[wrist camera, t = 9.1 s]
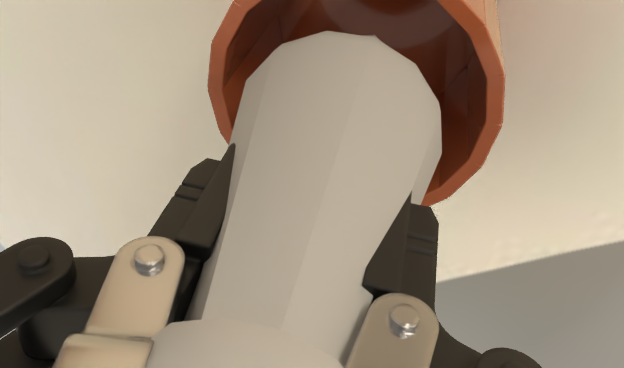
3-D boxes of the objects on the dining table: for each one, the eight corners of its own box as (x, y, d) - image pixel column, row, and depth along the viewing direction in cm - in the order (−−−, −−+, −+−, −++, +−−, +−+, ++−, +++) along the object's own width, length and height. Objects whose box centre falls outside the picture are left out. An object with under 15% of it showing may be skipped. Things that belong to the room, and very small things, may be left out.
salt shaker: (301, 183, 20) (140, 608, 10) (231, 36, 18) (-86, 425, 7) (466, 149, 18) (468, 649, 8) (416, -25, 15) (325, 411, 5)
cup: (377, -166, 20) (340, -131, 14) (544, 20, 22) (573, 117, 16) (228, 14, 25) (155, 96, 19) (378, 149, 27) (354, 258, 21)
